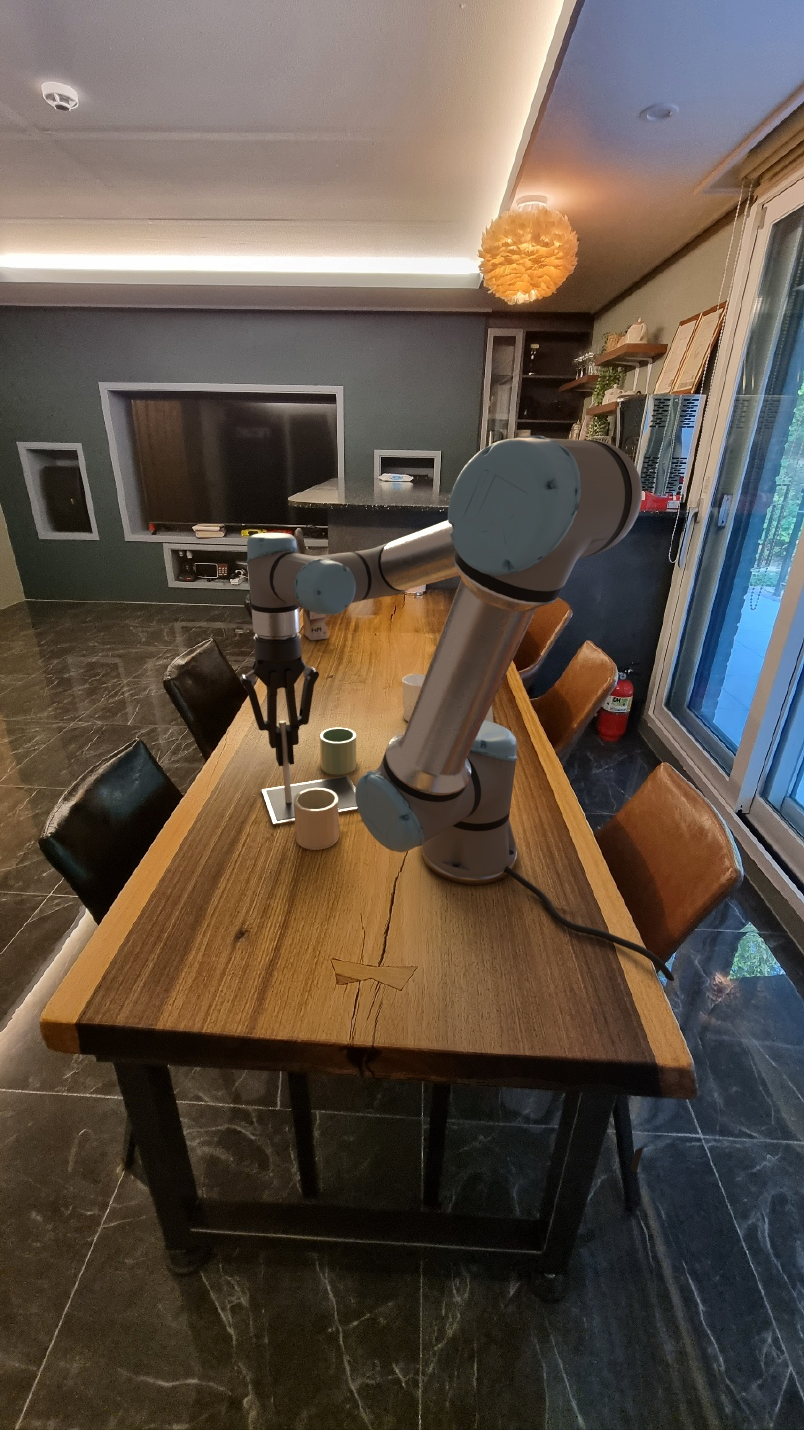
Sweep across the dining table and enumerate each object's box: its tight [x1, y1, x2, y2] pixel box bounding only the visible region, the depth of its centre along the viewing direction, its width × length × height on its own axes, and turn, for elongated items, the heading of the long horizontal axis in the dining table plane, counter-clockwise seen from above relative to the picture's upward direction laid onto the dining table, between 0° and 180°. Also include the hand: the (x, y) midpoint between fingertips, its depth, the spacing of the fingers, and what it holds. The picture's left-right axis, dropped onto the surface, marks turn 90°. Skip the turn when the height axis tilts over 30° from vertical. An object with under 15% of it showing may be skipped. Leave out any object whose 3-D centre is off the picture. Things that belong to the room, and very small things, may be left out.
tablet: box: [261, 775, 358, 827], centre depth 113 cm, size 12×17×1 cm
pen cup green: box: [319, 727, 358, 776], centre depth 124 cm, size 7×7×8 cm
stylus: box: [278, 720, 292, 803], centre depth 108 cm, size 1×1×16 cm
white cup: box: [401, 673, 426, 723], centre depth 147 cm, size 8×8×10 cm
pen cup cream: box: [294, 788, 340, 851], centre depth 102 cm, size 7×7×8 cm
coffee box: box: [302, 608, 329, 641], centre depth 207 cm, size 9×6×16 cm
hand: (285, 761), depth 108 cm, fingers closed on stylus
